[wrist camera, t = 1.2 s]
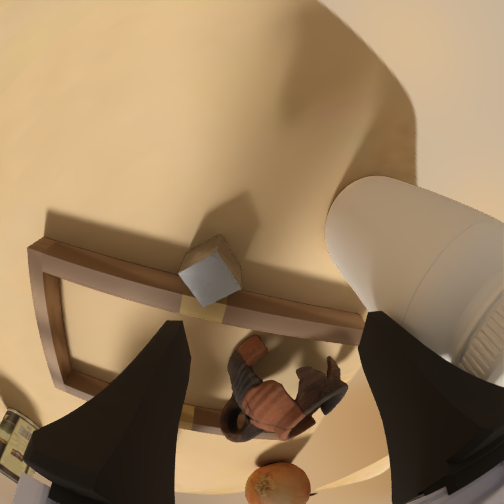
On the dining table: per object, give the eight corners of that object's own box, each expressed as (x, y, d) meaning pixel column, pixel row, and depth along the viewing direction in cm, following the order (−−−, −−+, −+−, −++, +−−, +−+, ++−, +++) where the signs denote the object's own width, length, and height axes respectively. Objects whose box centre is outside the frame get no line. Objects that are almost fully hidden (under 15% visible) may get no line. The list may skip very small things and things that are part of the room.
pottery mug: (272, 303, 22) (343, 374, 16) (311, 332, 29) (364, 383, 23) (177, 395, 22) (222, 472, 16) (236, 403, 28) (276, 458, 23)
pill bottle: (368, 291, 21) (467, 438, 8) (299, 236, 19) (406, 425, 5) (428, 220, 19) (569, 316, 5) (369, 150, 17) (571, 205, 3)
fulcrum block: (240, 266, 20) (241, 288, 17) (207, 283, 20) (203, 307, 17) (220, 233, 19) (217, 251, 16) (186, 252, 19) (177, 273, 16)
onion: (281, 447, 31) (290, 508, 22) (316, 460, 34) (327, 510, 25) (230, 465, 33) (231, 519, 24) (269, 477, 36) (274, 523, 27)
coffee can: (13, 421, 31) (-8, 466, 18) (3, 400, 28) (-24, 451, 15) (51, 445, 34) (34, 494, 21) (45, 427, 30) (23, 484, 17)
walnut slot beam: (289, 424, 28) (291, 440, 26) (62, 373, 24) (54, 387, 22) (359, 314, 22) (370, 330, 20) (43, 236, 18) (27, 247, 16)
